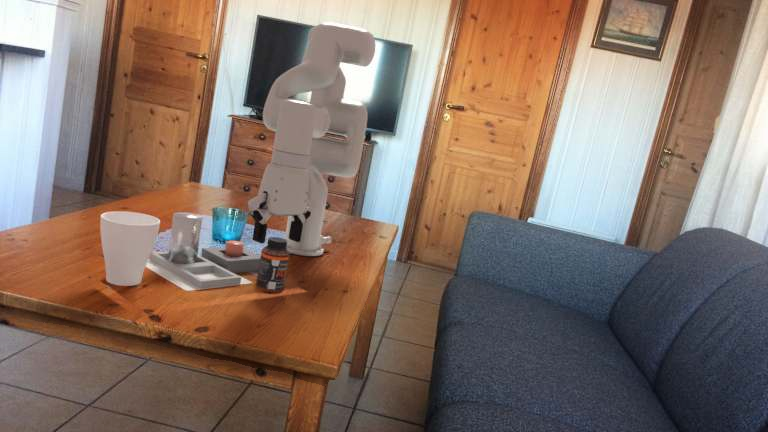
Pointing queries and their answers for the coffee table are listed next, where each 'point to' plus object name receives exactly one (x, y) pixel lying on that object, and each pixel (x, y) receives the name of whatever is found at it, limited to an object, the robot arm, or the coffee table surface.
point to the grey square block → (232, 260)
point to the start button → (234, 248)
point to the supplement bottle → (273, 265)
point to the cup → (127, 245)
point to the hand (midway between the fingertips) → (276, 241)
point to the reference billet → (184, 238)
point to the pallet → (193, 273)
